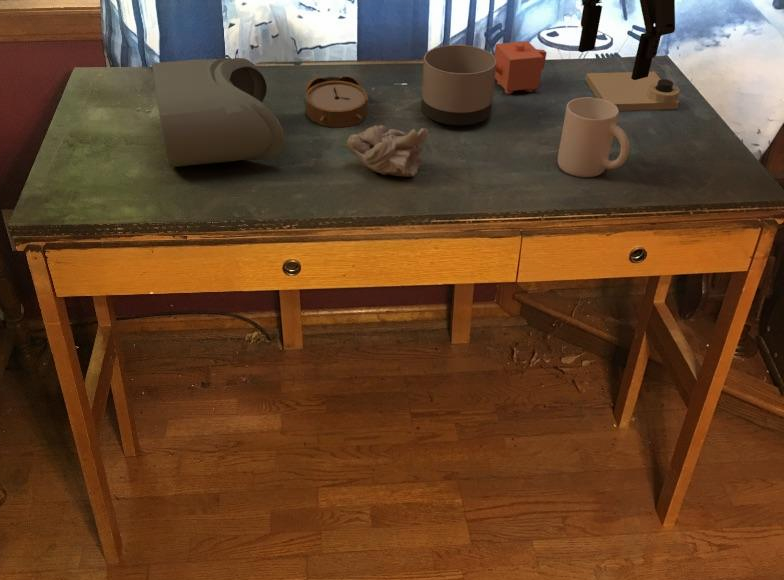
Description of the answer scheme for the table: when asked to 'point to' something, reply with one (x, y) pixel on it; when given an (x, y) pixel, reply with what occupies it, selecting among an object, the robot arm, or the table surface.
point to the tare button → (664, 85)
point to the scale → (632, 91)
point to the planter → (458, 84)
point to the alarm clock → (336, 101)
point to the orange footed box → (518, 66)
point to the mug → (590, 137)
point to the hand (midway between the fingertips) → (612, 63)
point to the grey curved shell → (215, 112)
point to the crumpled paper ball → (388, 150)
